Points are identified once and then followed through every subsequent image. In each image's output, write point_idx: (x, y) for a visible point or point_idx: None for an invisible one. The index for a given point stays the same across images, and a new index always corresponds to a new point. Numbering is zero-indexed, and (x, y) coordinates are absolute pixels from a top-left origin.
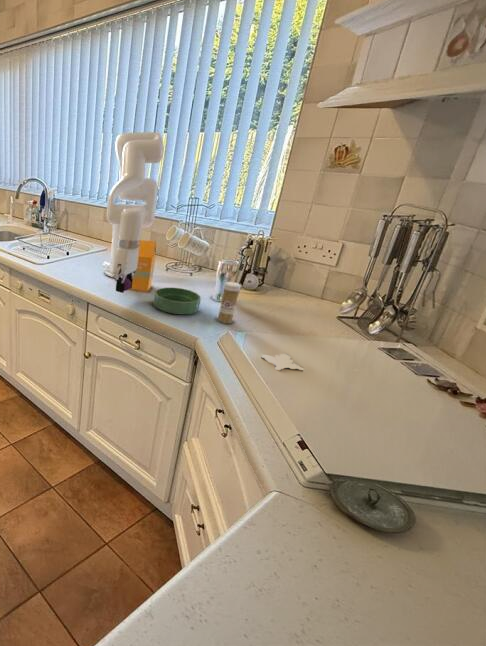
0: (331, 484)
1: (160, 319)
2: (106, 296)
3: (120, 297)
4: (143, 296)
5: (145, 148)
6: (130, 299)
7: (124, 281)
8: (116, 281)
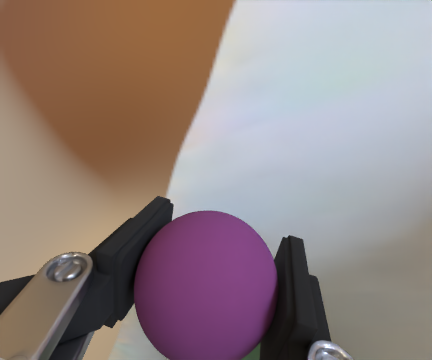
0: None
1: (131, 344)
2: (254, 83)
3: (283, 177)
4: (368, 290)
5: None
6: (277, 235)
7: (142, 324)
8: (66, 257)
